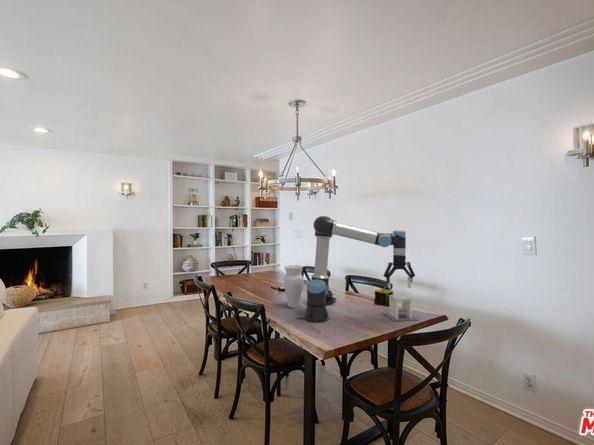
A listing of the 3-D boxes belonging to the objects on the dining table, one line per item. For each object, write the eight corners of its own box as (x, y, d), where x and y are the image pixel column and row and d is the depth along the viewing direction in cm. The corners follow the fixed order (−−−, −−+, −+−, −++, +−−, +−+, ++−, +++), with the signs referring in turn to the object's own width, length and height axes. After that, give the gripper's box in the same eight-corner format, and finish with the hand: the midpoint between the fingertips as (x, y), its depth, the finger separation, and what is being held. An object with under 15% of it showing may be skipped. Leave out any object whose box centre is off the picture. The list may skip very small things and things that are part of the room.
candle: (374, 304, 219) (373, 290, 219) (380, 301, 226) (380, 288, 226) (387, 307, 212) (387, 293, 212) (393, 304, 219) (393, 290, 219)
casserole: (319, 308, 209) (319, 296, 209) (301, 303, 223) (301, 292, 223) (342, 302, 226) (342, 291, 226) (324, 297, 240) (324, 287, 240)
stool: (411, 318, 185) (403, 313, 195) (411, 298, 185) (403, 294, 195) (396, 319, 184) (389, 314, 194) (396, 299, 184) (389, 295, 193)
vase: (279, 306, 216) (279, 266, 216) (294, 302, 226) (294, 263, 226) (292, 310, 205) (292, 268, 205) (308, 306, 215) (307, 266, 215)
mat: (393, 321, 181) (393, 320, 181) (382, 313, 197) (382, 312, 197) (418, 320, 183) (418, 319, 183) (405, 312, 199) (405, 311, 199)
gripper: (383, 255, 185) (383, 289, 185) (420, 255, 188) (420, 288, 188) (378, 254, 192) (378, 287, 192) (414, 253, 195) (414, 286, 195)
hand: (399, 287), depth 190 cm, fingers open, 13 cm apart
